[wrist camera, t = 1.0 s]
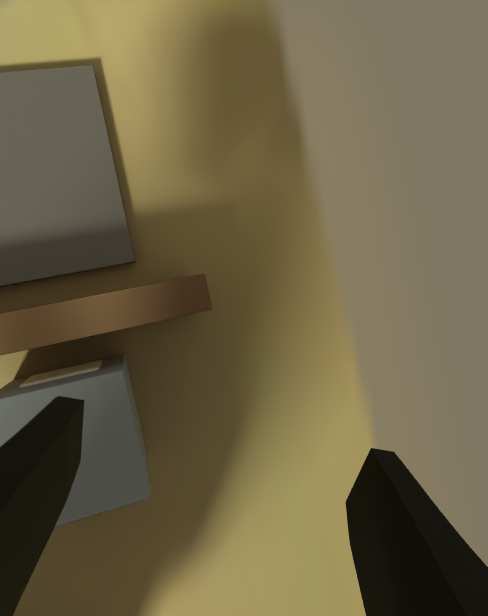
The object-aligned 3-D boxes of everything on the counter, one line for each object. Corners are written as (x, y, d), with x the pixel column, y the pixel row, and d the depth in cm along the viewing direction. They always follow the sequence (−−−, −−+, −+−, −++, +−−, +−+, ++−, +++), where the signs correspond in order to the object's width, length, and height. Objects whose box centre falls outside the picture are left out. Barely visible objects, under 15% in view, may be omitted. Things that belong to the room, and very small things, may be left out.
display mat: (-75, 300, 20) (-81, 300, 19) (-128, 90, 19) (-136, 83, 18) (134, 261, 22) (135, 261, 21) (93, 71, 21) (92, 64, 20)
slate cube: (38, 484, 21) (10, 540, 16) (13, 377, 21) (-24, 402, 16) (146, 454, 22) (150, 497, 17) (124, 352, 22) (121, 367, 17)
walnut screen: (-123, 376, 19) (-188, 396, 15) (-133, 342, 19) (-200, 353, 15) (198, 307, 22) (211, 309, 19) (192, 278, 22) (204, 273, 18)
